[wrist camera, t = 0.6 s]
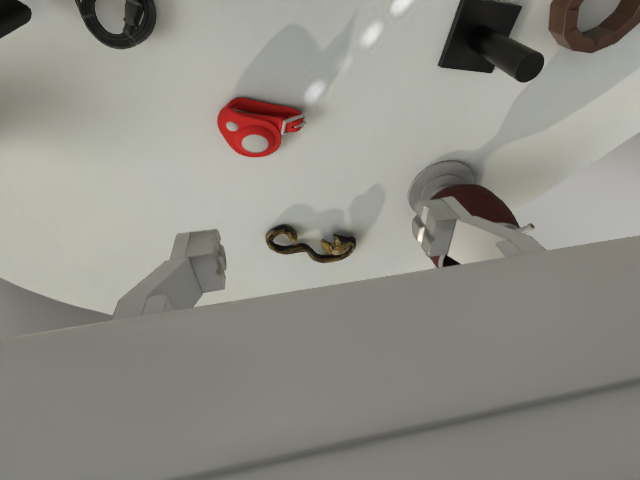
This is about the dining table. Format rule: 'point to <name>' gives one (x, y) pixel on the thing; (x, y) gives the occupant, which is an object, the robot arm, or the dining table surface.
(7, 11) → the milk frother
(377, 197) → the dining table surface
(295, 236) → the rubber snake
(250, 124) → the tracker holder
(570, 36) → the walnut ring
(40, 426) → the robot arm
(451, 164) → the mate gourd
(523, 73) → the rack post
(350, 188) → the dining table surface
